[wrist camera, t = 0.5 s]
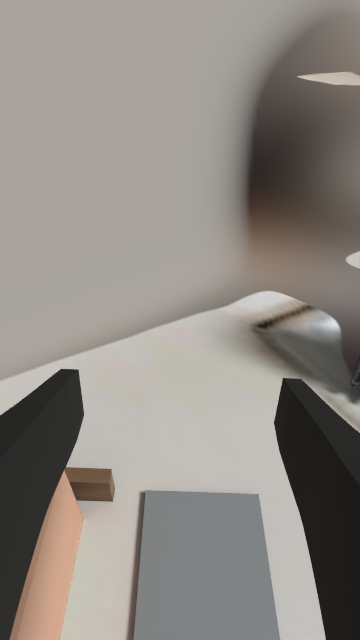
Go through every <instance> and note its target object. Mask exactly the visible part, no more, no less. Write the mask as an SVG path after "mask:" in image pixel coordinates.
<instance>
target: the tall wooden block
mask: <svg viewBox="0 0 360 640" xmlns="http://www.w3.org/2000/svg"><path fill="white" fill-rule="evenodd" d="M83 519H84V518H83V516H82V513H81V511H80V508H79V506H78V503H77V501H76V498H75V496H74V493H73V491H72V488H71V486H70V483H69V481H68V479H67V476H66V474H65V471H64V472H63V474H62V476H61V479H60V481H59V483H58V486H57V488H56V490H55V493H54V495H53V497H52V500H51V502H50V505H49V508H48V510H47V513H46V516H45V519H44V522H43V525H42V528H41V531H40V534H39V538H38V541H37V544H36V547H35V551H34V554H33V557H32V561H31V564H30V567H29V571H28V574H27V577H26V581H25V584H24V588H23V592H22V595H21V599H20V602H19V606H18V610H17V613H16V617H15V621H14V625H13V629H12V632H11V636H10V640H60V637H61V632H62V626H63V621H64V616H65V611H66V606H67V601H68V596H69V591H70V586H71V581H72V575H73V570H74V565H75V560H76V555H77V550H78V545H79V540H80V535H81V530H82V524H83Z"/></svg>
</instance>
